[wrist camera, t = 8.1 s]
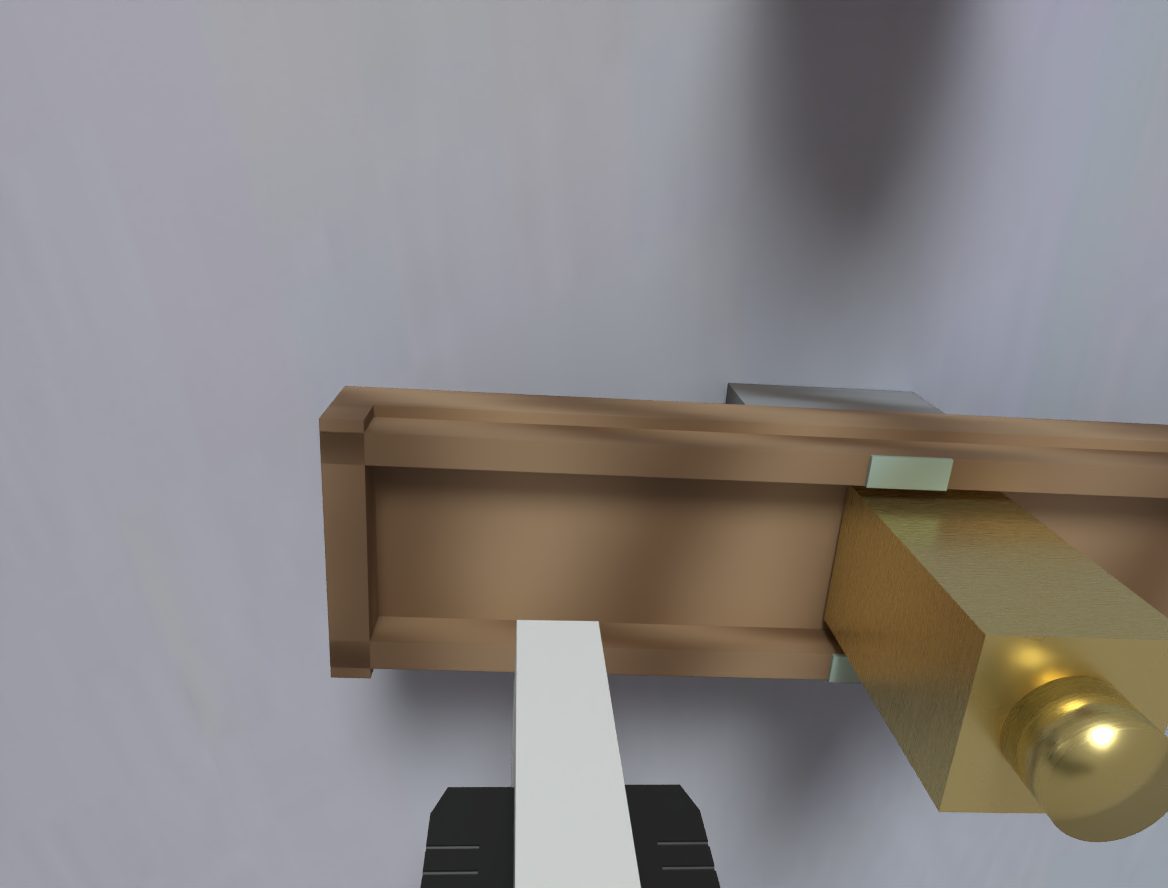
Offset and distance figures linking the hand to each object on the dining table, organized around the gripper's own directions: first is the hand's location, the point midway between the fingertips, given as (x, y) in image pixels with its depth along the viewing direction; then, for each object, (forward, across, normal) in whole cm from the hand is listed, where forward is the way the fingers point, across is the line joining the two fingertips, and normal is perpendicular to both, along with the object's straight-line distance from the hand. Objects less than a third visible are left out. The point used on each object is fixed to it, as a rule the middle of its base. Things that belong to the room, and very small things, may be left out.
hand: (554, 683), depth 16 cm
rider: (+6, +10, 0) cm, 12 cm away
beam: (+12, +9, 0) cm, 15 cm away
